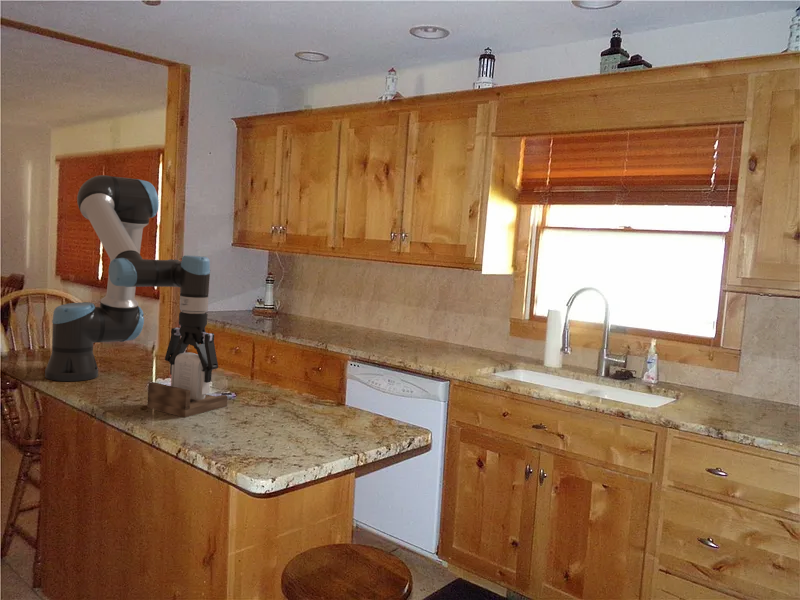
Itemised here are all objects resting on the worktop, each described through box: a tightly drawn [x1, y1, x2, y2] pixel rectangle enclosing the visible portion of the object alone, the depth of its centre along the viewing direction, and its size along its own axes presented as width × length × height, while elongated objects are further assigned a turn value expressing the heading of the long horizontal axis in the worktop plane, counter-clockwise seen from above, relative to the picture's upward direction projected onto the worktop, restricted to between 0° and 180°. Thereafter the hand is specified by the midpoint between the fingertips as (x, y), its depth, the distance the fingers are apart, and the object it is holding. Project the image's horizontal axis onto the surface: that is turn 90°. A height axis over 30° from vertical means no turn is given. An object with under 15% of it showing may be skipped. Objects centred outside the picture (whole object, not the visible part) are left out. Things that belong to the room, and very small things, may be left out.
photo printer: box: [173, 352, 208, 400], centre depth 181 cm, size 10×4×12 cm, turn 61°
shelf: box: [146, 381, 228, 418], centre depth 181 cm, size 14×16×7 cm
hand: (189, 390), depth 181 cm, fingers closed on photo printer, 10 cm apart
